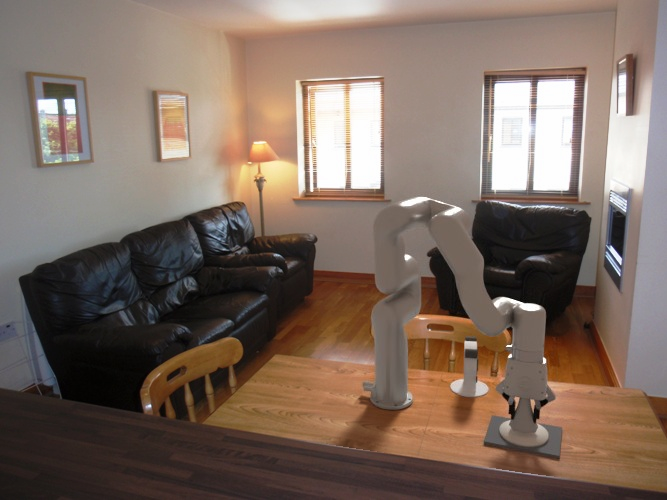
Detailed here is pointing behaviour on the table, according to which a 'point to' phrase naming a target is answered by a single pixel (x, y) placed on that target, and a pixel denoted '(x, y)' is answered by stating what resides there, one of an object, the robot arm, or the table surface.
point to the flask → (523, 417)
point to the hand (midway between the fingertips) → (523, 418)
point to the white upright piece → (470, 372)
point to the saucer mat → (524, 438)
